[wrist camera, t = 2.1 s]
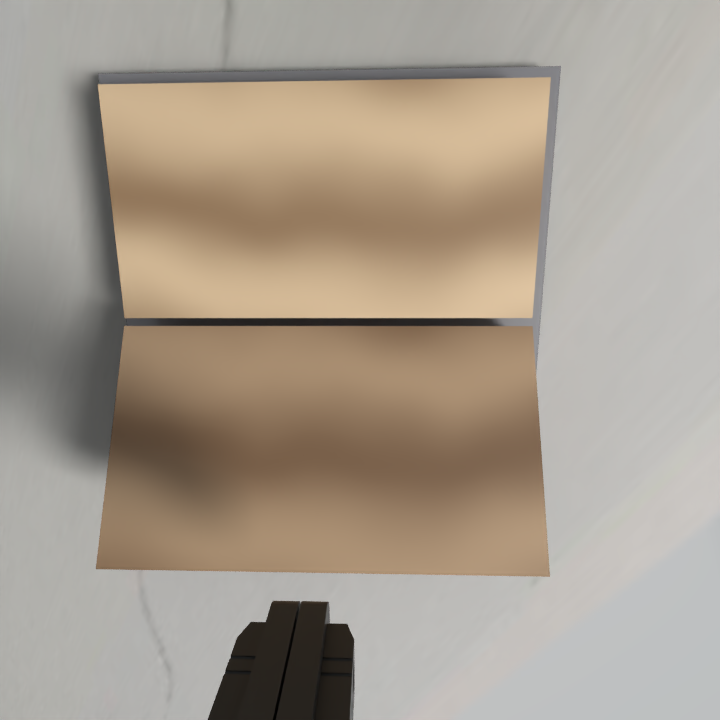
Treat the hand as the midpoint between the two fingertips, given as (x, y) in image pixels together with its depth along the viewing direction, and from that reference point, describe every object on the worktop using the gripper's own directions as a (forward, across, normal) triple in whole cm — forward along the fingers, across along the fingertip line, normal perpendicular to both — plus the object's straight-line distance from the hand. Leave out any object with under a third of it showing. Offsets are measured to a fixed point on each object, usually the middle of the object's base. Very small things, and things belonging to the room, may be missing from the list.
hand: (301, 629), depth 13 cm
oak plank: (+11, 0, -12) cm, 16 cm away
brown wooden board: (+8, 0, -2) cm, 8 cm away
